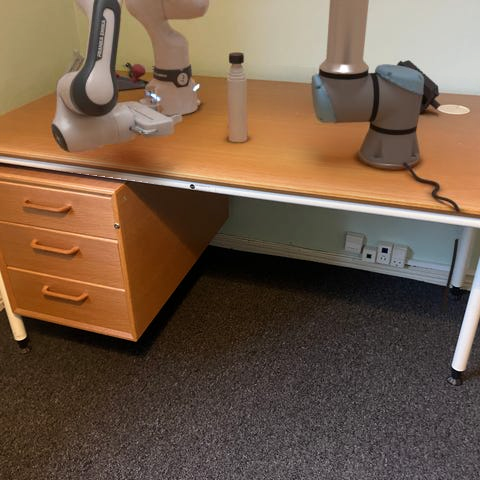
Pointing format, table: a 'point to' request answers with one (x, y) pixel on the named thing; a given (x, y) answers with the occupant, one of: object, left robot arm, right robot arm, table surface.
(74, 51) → the hand plane
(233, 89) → the bottle
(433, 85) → the tool
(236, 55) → the cap
